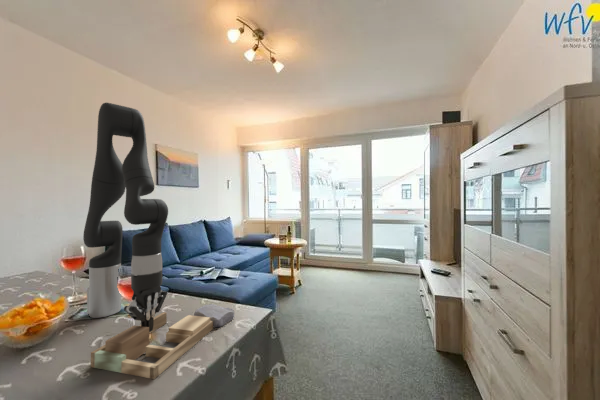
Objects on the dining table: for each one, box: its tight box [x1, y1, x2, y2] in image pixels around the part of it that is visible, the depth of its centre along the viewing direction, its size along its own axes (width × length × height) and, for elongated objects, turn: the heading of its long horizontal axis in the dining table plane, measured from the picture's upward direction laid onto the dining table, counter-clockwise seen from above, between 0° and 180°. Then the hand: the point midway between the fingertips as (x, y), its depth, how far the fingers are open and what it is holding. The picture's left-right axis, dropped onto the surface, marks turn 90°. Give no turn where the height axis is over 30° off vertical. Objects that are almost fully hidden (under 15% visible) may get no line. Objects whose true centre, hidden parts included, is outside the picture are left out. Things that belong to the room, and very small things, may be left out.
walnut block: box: [104, 325, 150, 361], centre depth 65 cm, size 5×8×6 cm, turn 167°
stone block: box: [193, 303, 235, 328], centre depth 86 cm, size 12×5×10 cm
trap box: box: [90, 311, 214, 380], centre depth 70 cm, size 18×23×4 cm
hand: (147, 331), depth 71 cm, fingers closed
